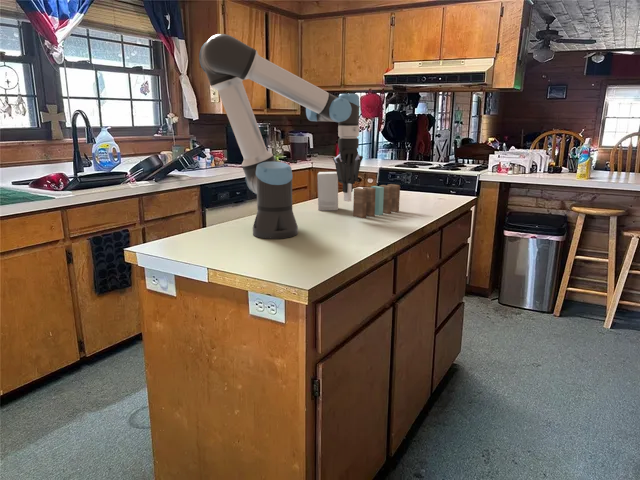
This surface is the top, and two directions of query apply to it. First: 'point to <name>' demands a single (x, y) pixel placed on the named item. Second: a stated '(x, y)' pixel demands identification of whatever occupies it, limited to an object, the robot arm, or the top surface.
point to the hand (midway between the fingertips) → (347, 200)
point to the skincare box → (327, 191)
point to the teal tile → (379, 200)
